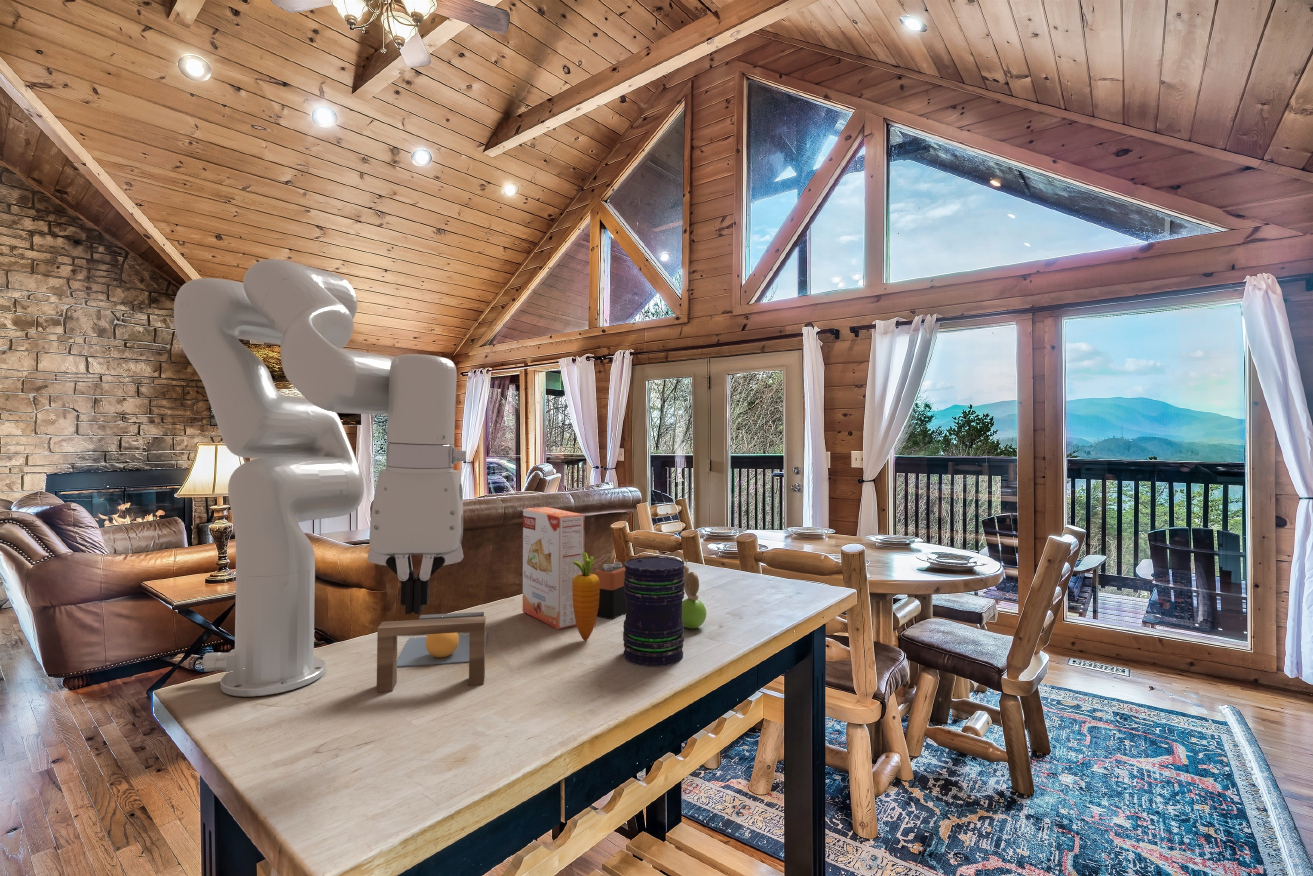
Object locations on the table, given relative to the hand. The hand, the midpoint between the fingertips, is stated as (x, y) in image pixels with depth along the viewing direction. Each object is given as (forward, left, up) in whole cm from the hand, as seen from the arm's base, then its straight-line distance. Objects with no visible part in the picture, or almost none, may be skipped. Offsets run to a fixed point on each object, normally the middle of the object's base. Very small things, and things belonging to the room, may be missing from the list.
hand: (414, 610), depth 72 cm
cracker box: (+19, +41, -14) cm, 47 cm away
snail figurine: (+44, +31, -14) cm, 55 cm away
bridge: (+1, +13, -14) cm, 19 cm away
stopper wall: (+1, +38, -14) cm, 40 cm away
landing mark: (+1, +27, -14) cm, 30 cm away
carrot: (+24, +27, -14) cm, 38 cm away
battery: (+31, +42, -14) cm, 53 cm away
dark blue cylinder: (+34, +18, -14) cm, 40 cm away
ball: (+1, +23, -11) cm, 26 cm away
